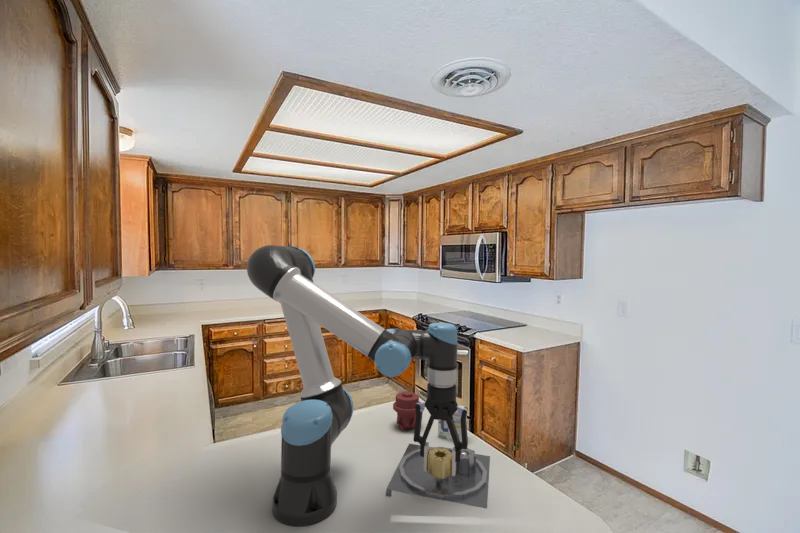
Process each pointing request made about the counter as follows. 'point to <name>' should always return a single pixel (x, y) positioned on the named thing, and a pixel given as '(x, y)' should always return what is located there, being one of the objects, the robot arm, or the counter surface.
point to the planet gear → (439, 463)
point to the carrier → (441, 480)
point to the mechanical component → (406, 409)
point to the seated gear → (466, 463)
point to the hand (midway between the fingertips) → (439, 470)
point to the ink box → (444, 429)
